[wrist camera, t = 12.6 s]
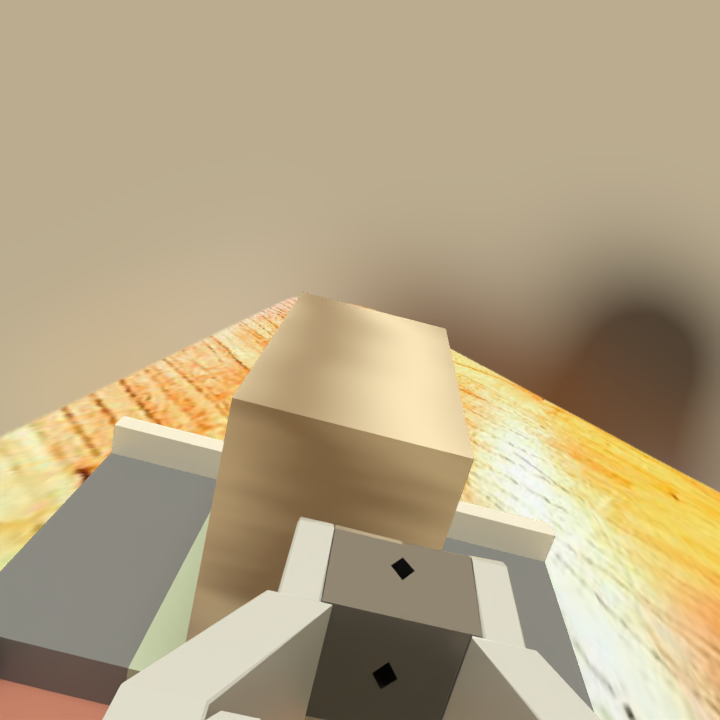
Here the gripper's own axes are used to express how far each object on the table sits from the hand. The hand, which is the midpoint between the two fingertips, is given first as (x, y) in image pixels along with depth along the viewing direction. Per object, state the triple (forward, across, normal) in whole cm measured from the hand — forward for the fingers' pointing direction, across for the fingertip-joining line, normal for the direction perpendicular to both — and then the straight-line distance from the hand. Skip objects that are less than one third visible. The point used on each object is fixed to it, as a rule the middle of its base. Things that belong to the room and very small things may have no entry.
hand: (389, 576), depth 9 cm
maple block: (+12, +1, +11) cm, 16 cm away
